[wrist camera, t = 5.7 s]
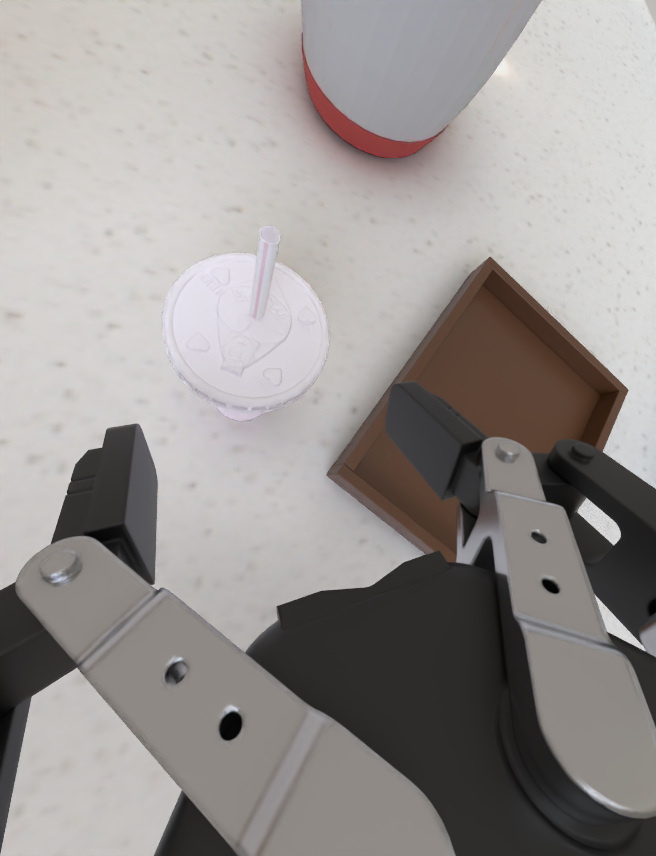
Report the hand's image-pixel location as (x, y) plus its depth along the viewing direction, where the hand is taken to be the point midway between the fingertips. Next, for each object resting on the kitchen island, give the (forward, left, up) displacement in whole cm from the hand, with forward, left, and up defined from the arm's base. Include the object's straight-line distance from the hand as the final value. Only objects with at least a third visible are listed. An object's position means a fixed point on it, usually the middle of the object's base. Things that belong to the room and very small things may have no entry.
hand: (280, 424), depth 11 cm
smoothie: (+3, +3, -11) cm, 12 cm away
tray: (+13, -13, -11) cm, 21 cm away
